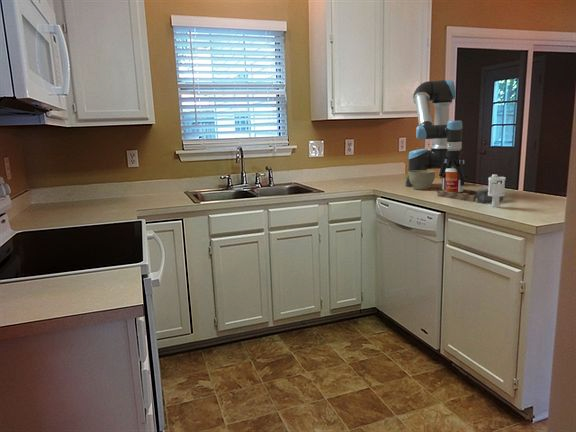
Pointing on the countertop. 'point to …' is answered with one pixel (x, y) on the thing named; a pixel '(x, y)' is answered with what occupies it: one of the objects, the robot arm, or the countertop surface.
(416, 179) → the planter bowl
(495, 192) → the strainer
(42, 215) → the countertop surface
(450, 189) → the coffee cup
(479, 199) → the guide channel
